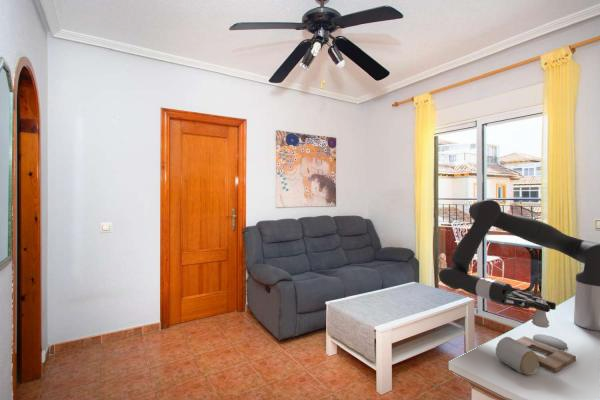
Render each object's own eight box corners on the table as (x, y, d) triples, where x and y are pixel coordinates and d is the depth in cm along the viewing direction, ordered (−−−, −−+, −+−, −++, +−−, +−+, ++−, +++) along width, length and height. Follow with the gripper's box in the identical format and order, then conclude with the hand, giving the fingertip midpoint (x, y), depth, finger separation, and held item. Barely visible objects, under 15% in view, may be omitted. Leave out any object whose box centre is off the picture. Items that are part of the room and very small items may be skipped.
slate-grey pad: (540, 334, 109) (540, 332, 109) (571, 345, 101) (571, 343, 101) (528, 339, 105) (528, 337, 105) (559, 352, 97) (560, 349, 97)
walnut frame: (524, 340, 104) (524, 336, 104) (575, 360, 92) (576, 356, 92) (502, 349, 98) (502, 345, 98) (555, 372, 85) (555, 368, 85)
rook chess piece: (528, 323, 96) (529, 298, 95) (536, 320, 97) (537, 296, 97) (544, 329, 92) (545, 303, 91) (552, 326, 93) (553, 301, 93)
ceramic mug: (521, 378, 82) (523, 351, 82) (494, 362, 90) (495, 337, 90) (547, 372, 86) (549, 346, 86) (518, 357, 93) (520, 333, 93)
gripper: (482, 283, 103) (541, 299, 88) (504, 277, 110) (563, 292, 95) (482, 304, 104) (540, 324, 88) (504, 297, 110) (562, 315, 95)
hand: (551, 307), depth 92 cm, fingers closed on rook chess piece, 3 cm apart
